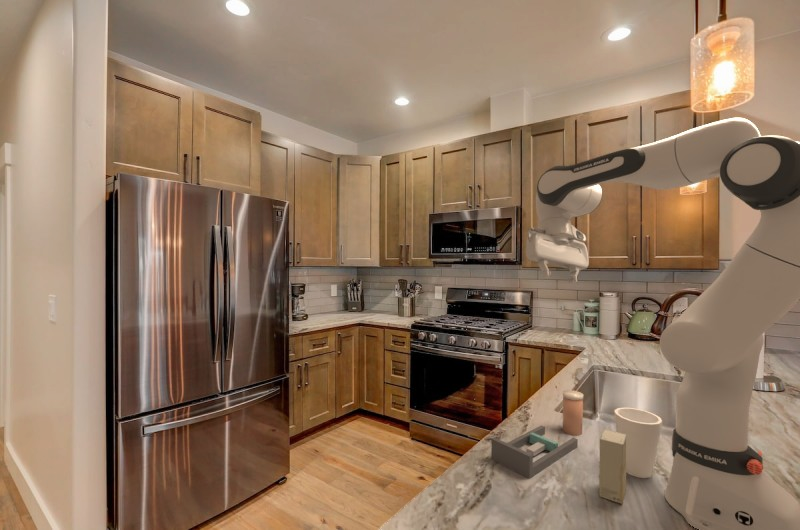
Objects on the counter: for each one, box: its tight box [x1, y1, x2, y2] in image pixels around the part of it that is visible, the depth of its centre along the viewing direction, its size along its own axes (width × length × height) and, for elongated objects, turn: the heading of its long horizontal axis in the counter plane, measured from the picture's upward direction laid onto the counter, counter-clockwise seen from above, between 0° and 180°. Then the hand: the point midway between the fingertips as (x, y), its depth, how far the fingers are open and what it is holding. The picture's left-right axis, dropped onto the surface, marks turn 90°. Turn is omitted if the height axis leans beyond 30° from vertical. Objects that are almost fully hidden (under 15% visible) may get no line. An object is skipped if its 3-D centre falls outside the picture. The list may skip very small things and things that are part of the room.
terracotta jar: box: [561, 389, 584, 436], centre depth 107 cm, size 5×5×11 cm
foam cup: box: [613, 407, 663, 479], centre depth 87 cm, size 10×9×13 cm
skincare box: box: [598, 428, 627, 505], centre depth 78 cm, size 6×4×12 cm
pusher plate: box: [525, 432, 559, 457], centre depth 95 cm, size 7×7×2 cm
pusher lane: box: [490, 425, 579, 479], centre depth 94 cm, size 23×10×5 cm, turn 130°
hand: (560, 280), depth 101 cm, fingers open, 8 cm apart
